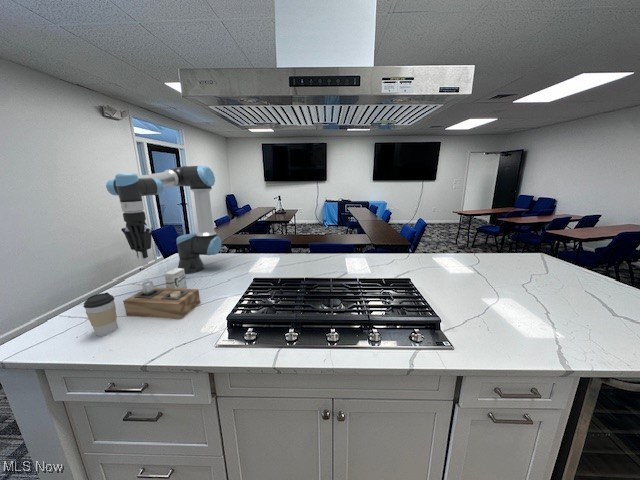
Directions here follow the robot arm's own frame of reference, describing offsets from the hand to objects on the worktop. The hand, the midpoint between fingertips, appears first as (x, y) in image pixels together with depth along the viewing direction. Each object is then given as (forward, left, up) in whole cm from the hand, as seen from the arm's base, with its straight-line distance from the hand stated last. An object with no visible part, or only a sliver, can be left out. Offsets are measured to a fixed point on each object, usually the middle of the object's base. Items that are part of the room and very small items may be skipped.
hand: (144, 264), depth 110 cm
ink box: (-17, 0, -21) cm, 27 cm away
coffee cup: (+18, -5, -21) cm, 28 cm away
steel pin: (0, 0, -16) cm, 16 cm away
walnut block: (0, +6, -21) cm, 22 cm away
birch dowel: (0, +13, -20) cm, 24 cm away
